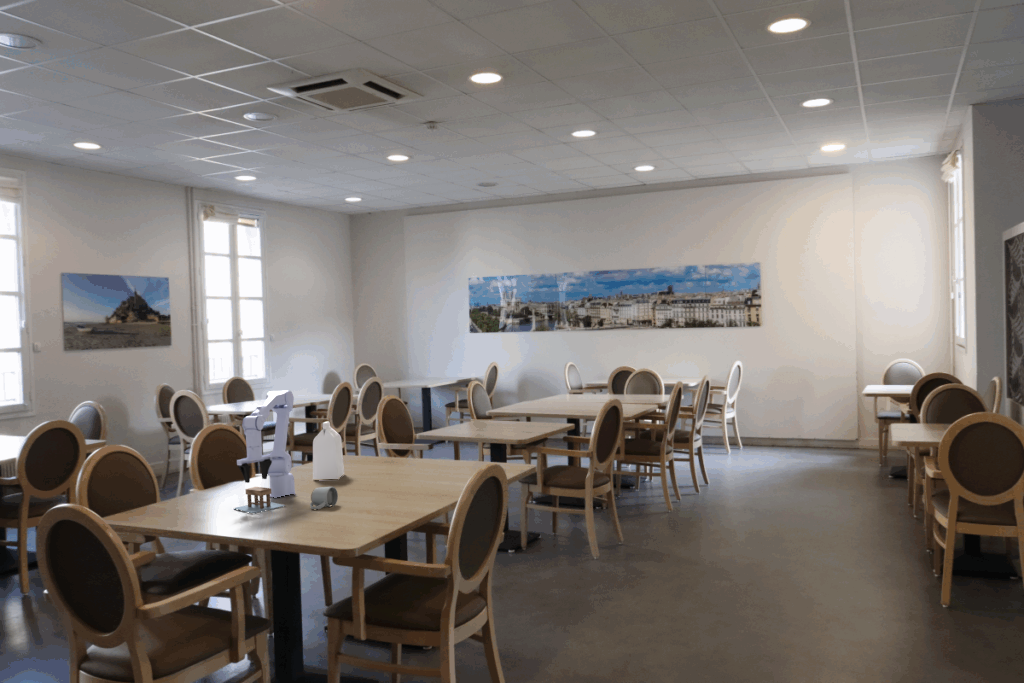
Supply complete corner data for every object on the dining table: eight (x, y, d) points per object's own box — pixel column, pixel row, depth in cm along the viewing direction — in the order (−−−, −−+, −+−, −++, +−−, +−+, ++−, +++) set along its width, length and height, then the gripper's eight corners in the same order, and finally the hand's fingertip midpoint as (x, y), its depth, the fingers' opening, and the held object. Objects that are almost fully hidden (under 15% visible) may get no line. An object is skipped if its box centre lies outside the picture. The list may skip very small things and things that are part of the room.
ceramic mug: (321, 503, 302) (320, 484, 302) (338, 504, 299) (337, 484, 299) (304, 510, 292) (303, 490, 292) (323, 511, 289) (321, 491, 289)
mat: (266, 502, 308) (266, 501, 308) (285, 506, 299) (285, 505, 299) (233, 509, 298) (233, 508, 298) (251, 514, 289) (251, 512, 289)
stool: (272, 506, 298) (271, 488, 298) (261, 509, 294) (260, 490, 294) (256, 504, 303) (256, 486, 303) (246, 507, 299) (245, 489, 299)
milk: (320, 475, 363) (317, 421, 363) (344, 474, 363) (341, 420, 362) (312, 480, 351) (310, 424, 351) (337, 479, 351) (334, 423, 350)
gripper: (264, 442, 309) (266, 476, 309) (231, 448, 298) (233, 483, 298) (274, 443, 305) (276, 477, 305) (241, 449, 293) (243, 484, 294)
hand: (256, 480), depth 301 cm, fingers open, 7 cm apart
